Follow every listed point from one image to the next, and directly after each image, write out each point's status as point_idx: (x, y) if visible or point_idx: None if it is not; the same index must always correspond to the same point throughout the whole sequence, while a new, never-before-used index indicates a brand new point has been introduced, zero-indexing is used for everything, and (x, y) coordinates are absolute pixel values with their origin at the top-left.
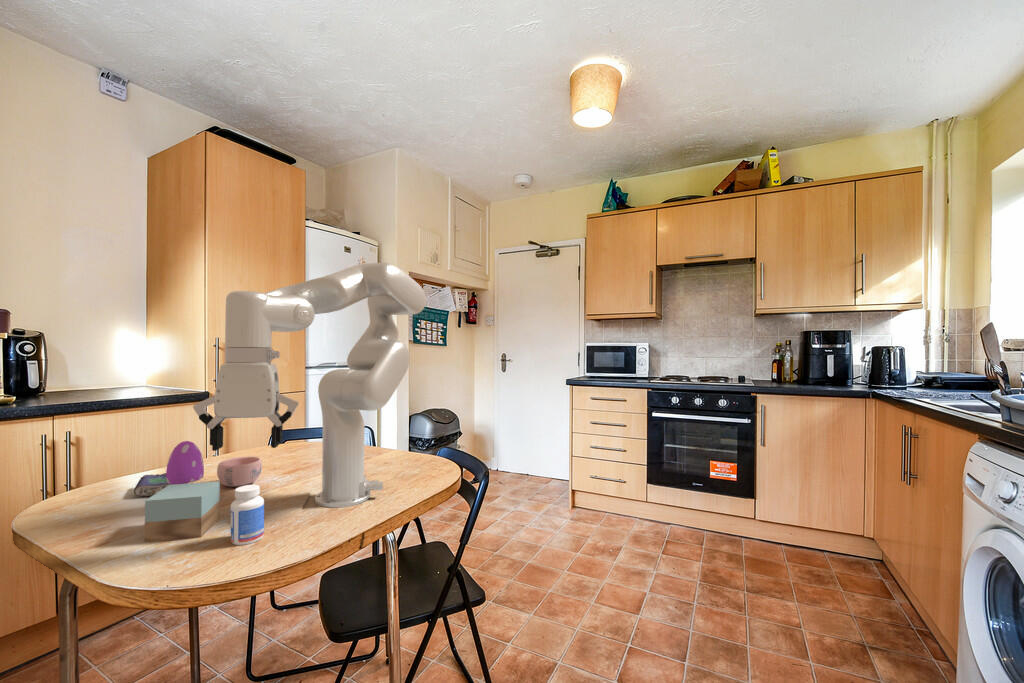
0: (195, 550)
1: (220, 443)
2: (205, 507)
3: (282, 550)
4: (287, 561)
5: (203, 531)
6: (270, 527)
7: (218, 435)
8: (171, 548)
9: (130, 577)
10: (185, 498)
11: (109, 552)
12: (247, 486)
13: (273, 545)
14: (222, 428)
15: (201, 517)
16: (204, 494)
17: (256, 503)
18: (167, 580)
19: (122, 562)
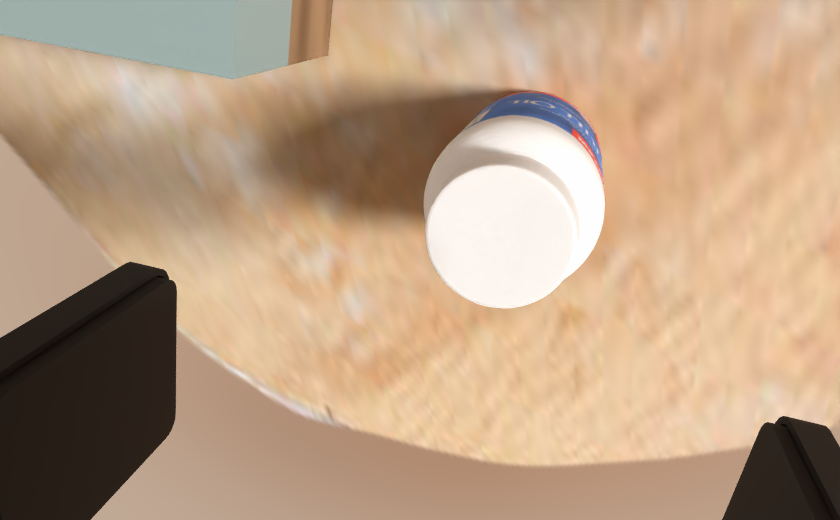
0: (338, 180)
1: (146, 372)
2: (276, 6)
3: (674, 344)
4: (685, 441)
5: (322, 27)
6: (633, 47)
7: (74, 502)
8: (241, 115)
9: (202, 305)
10: (152, 61)
11: (33, 49)
12: (496, 200)
13: (640, 278)
14: (9, 421)
15: (288, 64)
16: (236, 28)
17: (563, 279)
18: (317, 379)
19: (124, 171)
